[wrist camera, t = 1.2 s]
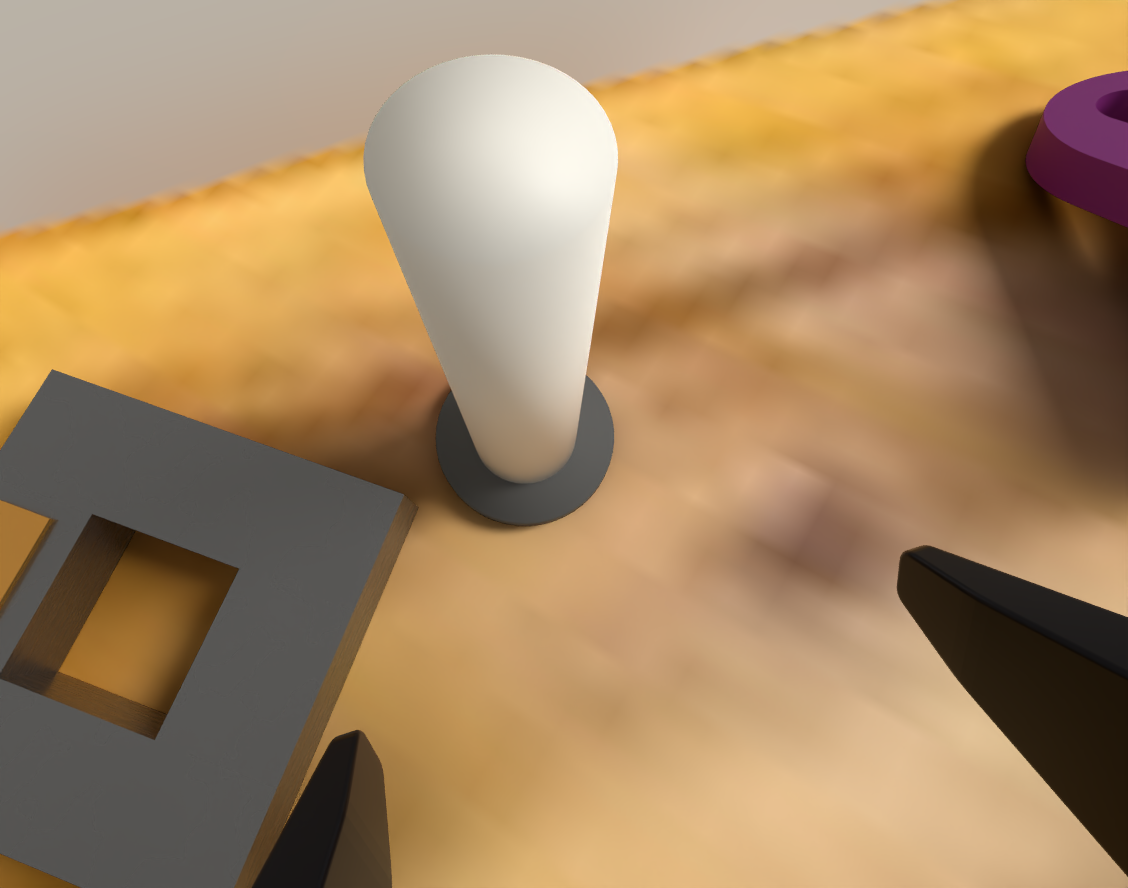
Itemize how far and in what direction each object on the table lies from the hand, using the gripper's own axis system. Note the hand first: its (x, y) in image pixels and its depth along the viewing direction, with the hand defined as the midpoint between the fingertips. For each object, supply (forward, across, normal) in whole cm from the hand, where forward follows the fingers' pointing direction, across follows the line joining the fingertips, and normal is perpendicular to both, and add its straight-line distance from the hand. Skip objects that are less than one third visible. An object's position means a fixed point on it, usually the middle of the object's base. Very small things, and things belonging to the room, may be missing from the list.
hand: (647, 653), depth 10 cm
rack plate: (+13, +15, +6) cm, 21 cm away
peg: (+15, 0, +4) cm, 15 cm away
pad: (+15, 0, +4) cm, 16 cm away
